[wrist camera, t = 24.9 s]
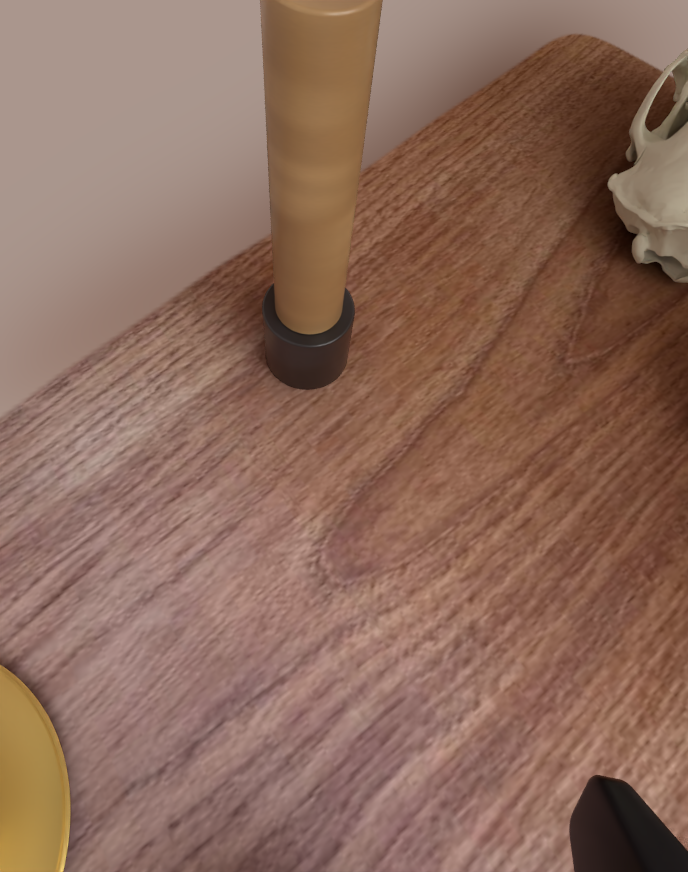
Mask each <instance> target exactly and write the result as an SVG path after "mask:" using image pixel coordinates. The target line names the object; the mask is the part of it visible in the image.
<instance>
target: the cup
mask: <svg viewBox="0 0 688 872" xmlns="http://www.w3.org/2000/svg"><path fill="white" fill-rule="evenodd" d="M69 832H70V789H69V780H68V774H67V768H66V763H65V759H64V755H63V751H62V748H61V745H60V742H59V739H58V736H57V734H56V731H55V729H54V727H53V725H52V723H51V721H50V719H49V717H48V715H47V713H46V712H45V710H44V708H43V707H42V705H41V704H40V702H39V701H38V700H37V698H36V697H35V696H34V694H33V693H32V692H31V691H30V690H29V689H28V688H27V686H26V685H25V684H24V683H23V682H22V681H21V680H19V679H18V678H17V677H16V676H15V675H14V674H13V673H11V672H10V671H9V670H7V669H6V668H5V667H3V666H2V665H0V872H63V871H64V866H65V861H66V855H67V849H68V842H69Z"/></svg>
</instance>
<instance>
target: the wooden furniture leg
mask: <svg viewBox="0 0 688 872" xmlns="http://www.w3.org/2000/svg"><path fill="white" fill-rule="evenodd" d="M382 1H383V0H260V7H261V28H262V45H263V46H262V47H263V68H264V89H265V109H266V129H267V130H266V131H267V150H268V171H269V192H270V213H271V233H272V254H273V275H274V283H273V284H272V285H271V287H270V288H269V289H268V291H267V292H266V294H265V296H264V299H263V304H262V314H263V326H264V338H265V350H266V359H267V363H268V366H269V368H270V370H271V371H272V373H273V374H274V375H275V376H276V377H277V378H278V379H279V380H280V381H282V382H283V383H285V384H287V385H289V386H291V387H294V388H298V389H317V388H321V387H324V386H326V385H328V384H330V383H331V382H333V381H334V380H336V379H337V378H338V377H339V376H340V374H341V373H342V372H343V370H344V368H345V366H346V363H347V357H348V351H349V345H350V339H351V333H352V327H353V321H354V315H355V308H354V302H353V299H352V297H351V295H350V293H349V292H348V290H347V289H346V288H345V285H346V277H347V269H348V262H349V254H350V246H351V239H352V231H353V223H354V216H355V208H356V200H357V193H358V185H359V177H360V170H361V162H362V154H363V147H364V139H365V130H366V123H367V116H368V108H369V101H370V92H371V85H372V78H373V69H374V62H375V54H376V47H377V39H378V31H379V24H380V16H381V8H382Z"/></svg>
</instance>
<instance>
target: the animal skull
mask: <svg viewBox="0 0 688 872" xmlns="http://www.w3.org/2000/svg"><path fill="white" fill-rule="evenodd" d="M671 71H672V72H673V76H674V80H675V83H676V91H675V93H674V96H673V101H675V102H677V103H676V104H675V105H674V107H673V109H672V111H671V112H670V114H669V115H668V116H667V117H666V119H665V120H664V121H663V122H662V124H661V126H659V127H658V128H656V129H655V130H653V131H652V132H650V131H648V130H647V128H646V126H645V119H646V116H647V114H648V111H649V108H650V106H651V104H652V102H653V100H654V98H655V96H656V94H657V92H658V91H659V89H660V87H661V86H662V84H663V83H664V81H665V79H666V78H667V77H668V75H669V74H670V72H671ZM629 135H630V138H631V145H630V147H629V148H628V150H627V151H626V158H627V160H628V161H629V162H632V161H635V160H636V162H635V163H634V165H635V166H633V167H632V168H631V169H629V170H626V171H625V172H622V173H620V174H617V173H616V174H613V175H612V176H611V177H610V179H609V181H608V188H609V190H610V191H612V192H613V201H614V204H615V210H616V213H617V214H618V216H619V217H620V218H621V220H622V221H623V222H624V224H625V226H626V229H627V230H628V231H629V232H631V233H634V234H638V235H637V236H636V237H635V238H634V240H633V242H632V254H633V257H634V259H635V261H636V262H637V263H638V264H639V263H645V264H648V263H651V262H658V263H660V264H661V265H662V270H663V271H664V272H665V273H666V274H667V275H668V276H669V277H670V278H672V280H673V281H674V282H681V283H688V49H687V50H685V51H683V52H682V53H681V54H680V55H679V57H678V58H677V59H676V60H675V61H674V62H673V63H671V64H670V65H668V66H667V67H666V68H665V69H664V72H663V73H662V75H661V76H660V77H659V78H658V79H657V81H656V82H655V83H654V85H653V86H652V88H651V90H650V91H649V93H648V94H647V96H646V98H645V99H644V101H643V103H642V105H641V106H640V108H639V110H638V112H637V114H636V115H635V117H634V119H633V122H632V125H631V128H630V130H629Z"/></svg>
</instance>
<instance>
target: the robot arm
mask: <svg viewBox="0 0 688 872" xmlns="http://www.w3.org/2000/svg"><path fill="white" fill-rule="evenodd" d="M570 842H571V849H572V856H573V864H574V871H575V872H688V851H687V850H686V849H685V848H684V846H683V845H682V844H681V843H680V842H679V841H678V840H677V838H676V837H675V836H674V835H673V834H672V833H671V831H670V830H669V829H668V828H667V827H666V826H665V825H664V823H663V822H662V821H661V820H660V819H659V818H658V817H657V815H656V814H655V813H654V812H653V811H652V810H651V809H650V807H649V806H648V805H647V804H646V803H645V802H644V801H643V799H642V798H641V797H640V796H639V795H638V794H637V793H636V791H635V790H634V789H633V788H632V787H631V786H630V785H629V784H628V783H626V782H625V781H623V780H620V779H615V778H610V777H606V776H601V775H595V776H593V777H591V778H590V779H589V781H588V783H587V785H586V787H585V789H584V791H583V793H582V795H581V797H580V799H579V801H578V803H577V805H576V807H575V809H574V811H573V813H572V816H571V820H570Z"/></svg>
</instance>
